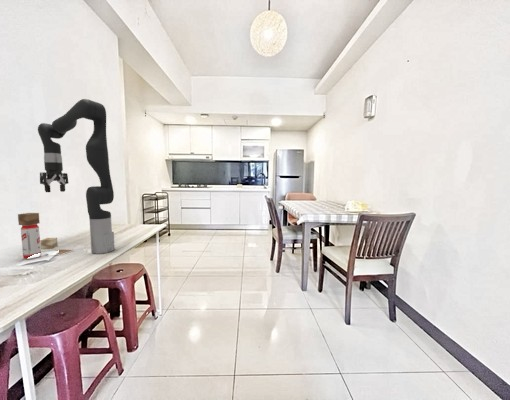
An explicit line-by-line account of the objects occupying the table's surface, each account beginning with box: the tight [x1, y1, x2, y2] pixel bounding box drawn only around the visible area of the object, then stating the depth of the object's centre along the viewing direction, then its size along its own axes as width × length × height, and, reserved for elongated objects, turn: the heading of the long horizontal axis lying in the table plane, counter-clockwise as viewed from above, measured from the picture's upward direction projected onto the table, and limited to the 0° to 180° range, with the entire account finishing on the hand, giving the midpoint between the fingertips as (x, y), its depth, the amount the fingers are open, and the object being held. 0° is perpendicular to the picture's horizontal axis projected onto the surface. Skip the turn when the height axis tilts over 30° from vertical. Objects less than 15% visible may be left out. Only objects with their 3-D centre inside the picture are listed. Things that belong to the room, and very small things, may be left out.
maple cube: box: [40, 237, 59, 250], centre depth 128 cm, size 5×5×5 cm
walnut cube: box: [17, 212, 41, 226], centre depth 110 cm, size 5×5×5 cm
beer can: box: [20, 224, 42, 260], centre depth 111 cm, size 6×6×16 cm
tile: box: [55, 248, 75, 256], centre depth 119 cm, size 8×8×1 cm
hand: (55, 191), depth 130 cm, fingers open, 8 cm apart
